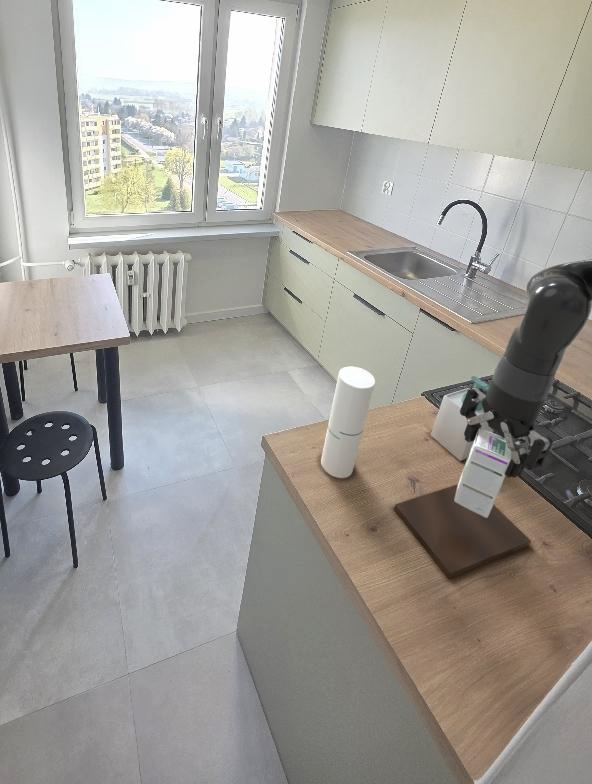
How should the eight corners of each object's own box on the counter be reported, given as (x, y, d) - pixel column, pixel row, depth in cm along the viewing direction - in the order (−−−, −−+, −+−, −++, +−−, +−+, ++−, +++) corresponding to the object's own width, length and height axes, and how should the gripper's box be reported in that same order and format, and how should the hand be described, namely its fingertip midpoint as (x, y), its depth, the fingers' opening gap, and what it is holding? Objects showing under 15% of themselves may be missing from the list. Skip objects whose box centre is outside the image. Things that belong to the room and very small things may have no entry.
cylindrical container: (350, 482, 92) (373, 392, 82) (318, 470, 94) (336, 381, 84) (354, 459, 98) (376, 372, 88) (324, 448, 100) (341, 362, 90)
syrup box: (488, 519, 76) (514, 462, 70) (452, 501, 79) (474, 444, 74) (491, 497, 80) (516, 441, 74) (457, 481, 84) (478, 426, 78)
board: (467, 485, 92) (468, 480, 92) (528, 546, 80) (531, 541, 80) (393, 509, 86) (395, 504, 86) (448, 578, 74) (450, 573, 74)
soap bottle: (460, 462, 98) (485, 398, 90) (430, 435, 106) (450, 374, 98) (485, 452, 101) (512, 389, 93) (454, 426, 109) (476, 366, 101)
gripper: (582, 409, 64) (543, 484, 70) (497, 356, 76) (470, 424, 83) (547, 419, 62) (511, 496, 68) (465, 362, 74) (441, 432, 81)
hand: (489, 456), depth 75 cm, fingers closed on syrup box, 7 cm apart
